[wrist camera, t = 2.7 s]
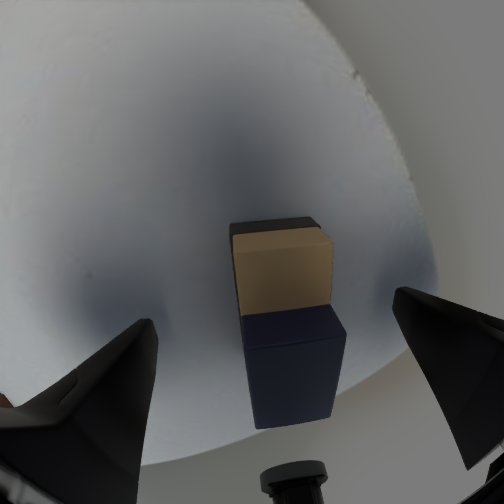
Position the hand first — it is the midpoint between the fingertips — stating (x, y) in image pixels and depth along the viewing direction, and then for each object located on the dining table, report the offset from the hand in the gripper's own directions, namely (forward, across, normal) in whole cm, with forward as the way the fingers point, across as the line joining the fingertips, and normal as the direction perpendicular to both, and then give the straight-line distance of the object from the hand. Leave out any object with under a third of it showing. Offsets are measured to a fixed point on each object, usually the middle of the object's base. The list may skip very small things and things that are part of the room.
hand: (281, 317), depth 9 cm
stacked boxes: (+1, 0, 0) cm, 1 cm away
